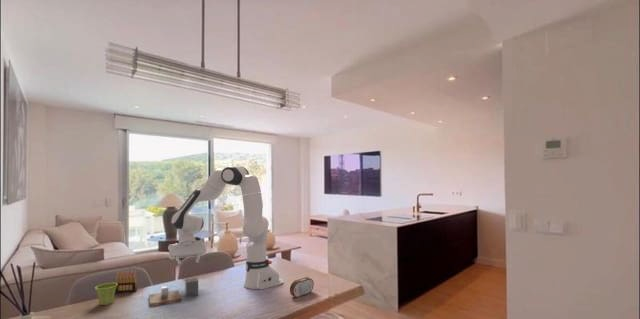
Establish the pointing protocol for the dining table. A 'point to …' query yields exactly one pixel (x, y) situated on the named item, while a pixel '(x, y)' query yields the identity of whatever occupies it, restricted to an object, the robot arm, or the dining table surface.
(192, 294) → the grey square block
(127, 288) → the brown slatted box
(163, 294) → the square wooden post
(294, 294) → the tin
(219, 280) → the dining table surface
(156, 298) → the base plate
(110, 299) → the plant pot
